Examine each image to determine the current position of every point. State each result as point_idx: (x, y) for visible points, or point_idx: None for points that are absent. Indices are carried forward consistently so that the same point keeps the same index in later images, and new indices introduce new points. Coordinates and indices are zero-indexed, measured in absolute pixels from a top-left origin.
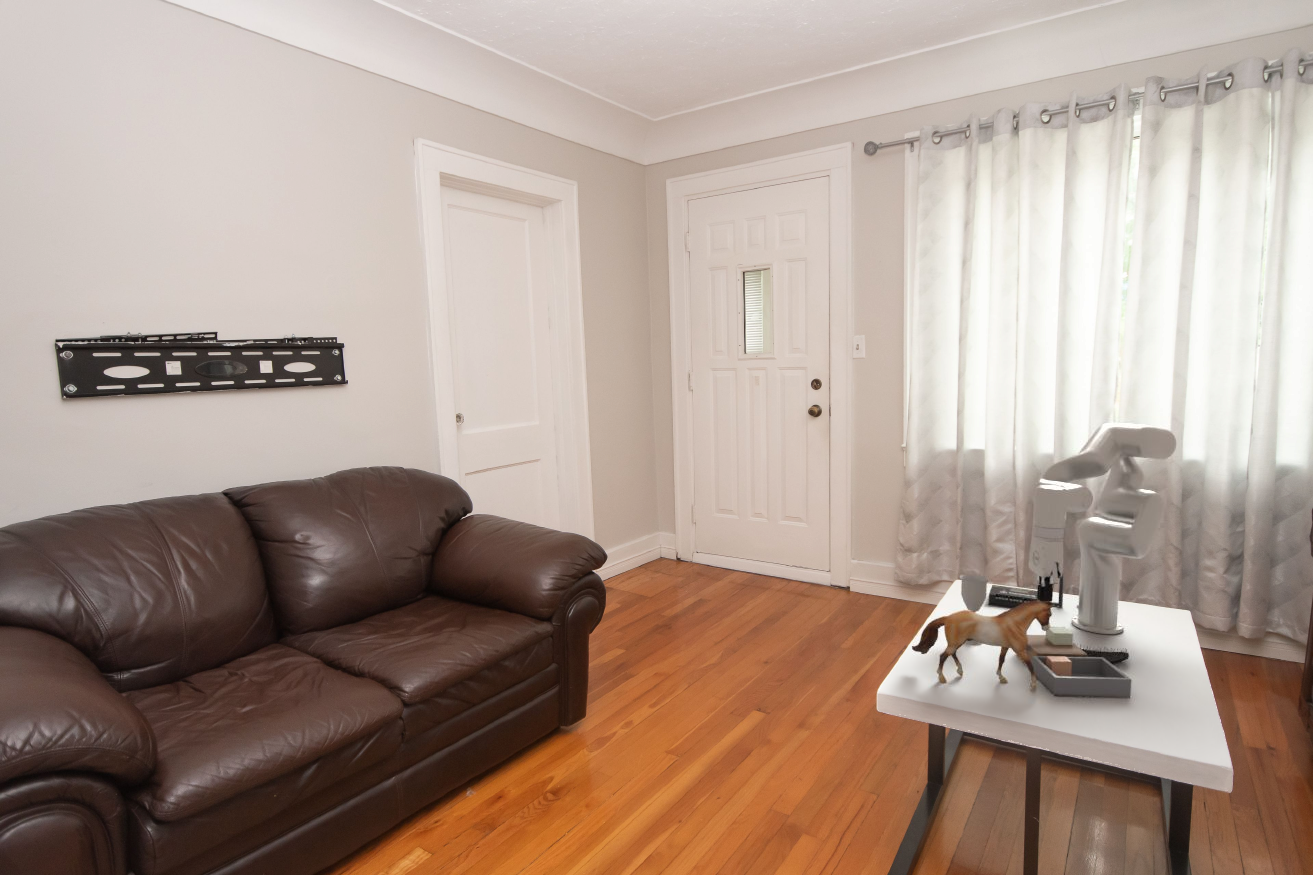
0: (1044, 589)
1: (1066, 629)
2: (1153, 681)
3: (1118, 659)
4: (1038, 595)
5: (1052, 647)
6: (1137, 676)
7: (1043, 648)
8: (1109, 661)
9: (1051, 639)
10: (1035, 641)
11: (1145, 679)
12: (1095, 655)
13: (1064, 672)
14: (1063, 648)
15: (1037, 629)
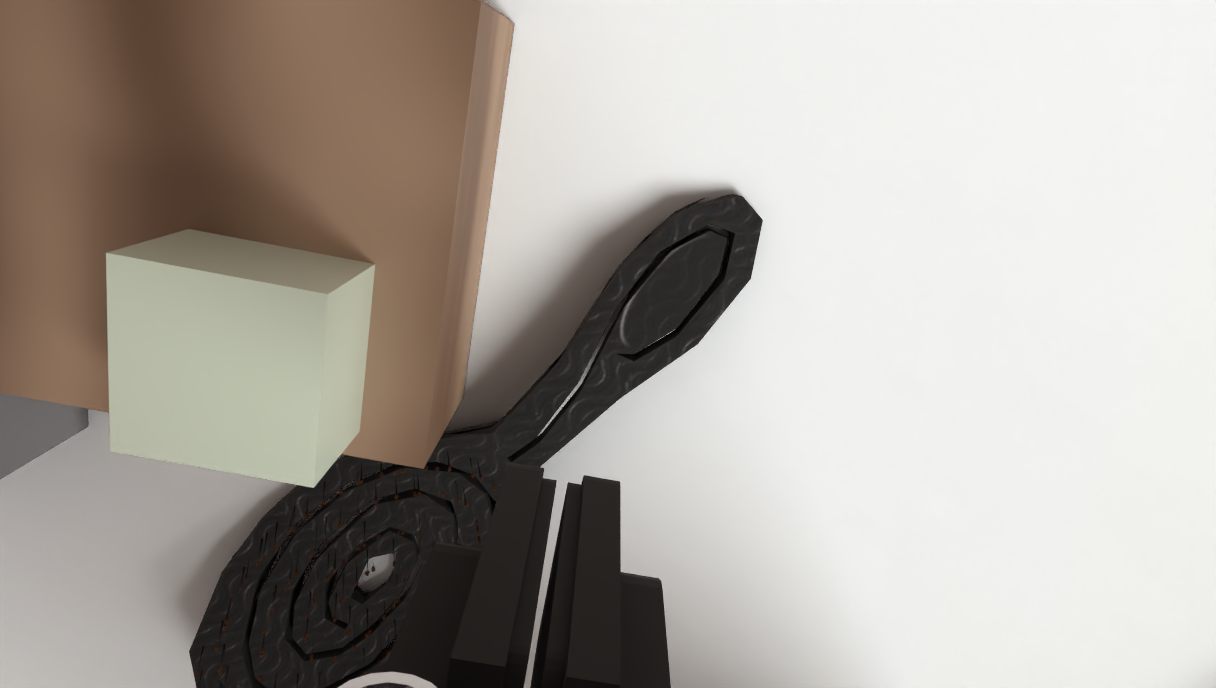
0: (397, 666)
1: (231, 458)
2: (18, 654)
3: (201, 642)
4: (579, 518)
5: (113, 167)
6: (85, 618)
7: (78, 50)
8: (223, 584)
9: (227, 244)
10: (270, 84)
11: (43, 632)
12: (389, 582)
13: None
14: (90, 260)
15: (953, 510)
